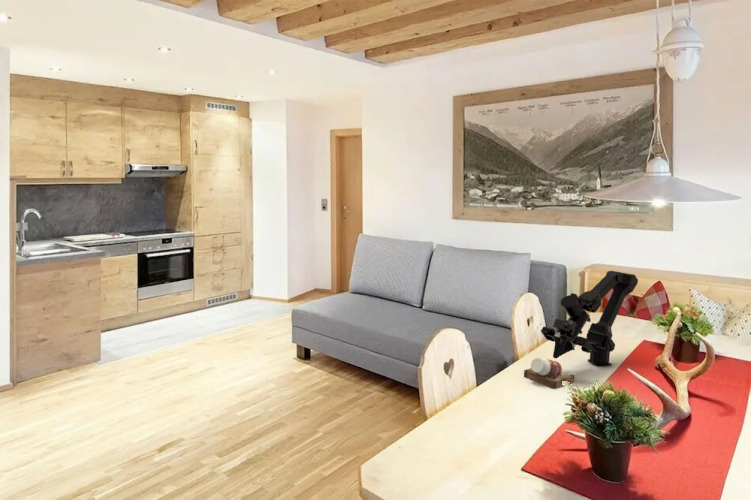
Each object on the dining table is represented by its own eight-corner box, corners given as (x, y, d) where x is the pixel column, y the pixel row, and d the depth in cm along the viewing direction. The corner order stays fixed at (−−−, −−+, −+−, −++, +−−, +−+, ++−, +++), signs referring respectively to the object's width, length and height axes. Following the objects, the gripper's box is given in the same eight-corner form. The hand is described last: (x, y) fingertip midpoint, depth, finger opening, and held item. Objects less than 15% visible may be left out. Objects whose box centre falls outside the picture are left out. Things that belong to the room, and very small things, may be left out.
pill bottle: (564, 364, 187) (546, 358, 181) (560, 380, 187) (541, 376, 180) (550, 359, 192) (532, 354, 186) (545, 375, 192) (527, 370, 185)
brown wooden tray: (544, 370, 196) (544, 364, 196) (574, 382, 186) (574, 375, 186) (523, 376, 190) (524, 370, 190) (553, 388, 179) (554, 382, 179)
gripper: (545, 305, 197) (524, 338, 192) (589, 316, 181) (567, 352, 177) (557, 322, 202) (536, 354, 197) (601, 335, 187) (580, 370, 182)
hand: (554, 357), depth 188 cm, fingers closed
